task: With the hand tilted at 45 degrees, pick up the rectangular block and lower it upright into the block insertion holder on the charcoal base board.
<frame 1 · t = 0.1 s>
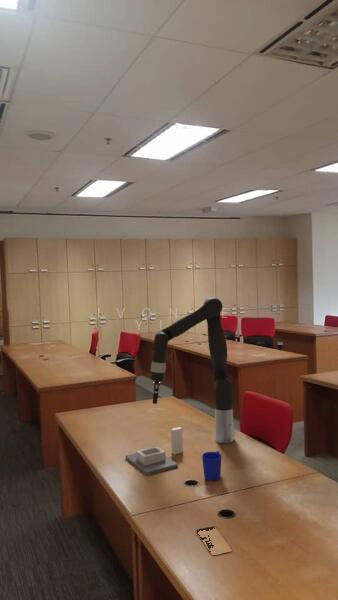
hand: (154, 401, 237), 22 cm above the table, tool pointing down, fingers open, 8 cm apart
rectangular block: (177, 452, 226), on the table
mug: (213, 476, 198), on the table
block insertion holder: (151, 462, 214), on the table
phone: (213, 542, 150), on the table
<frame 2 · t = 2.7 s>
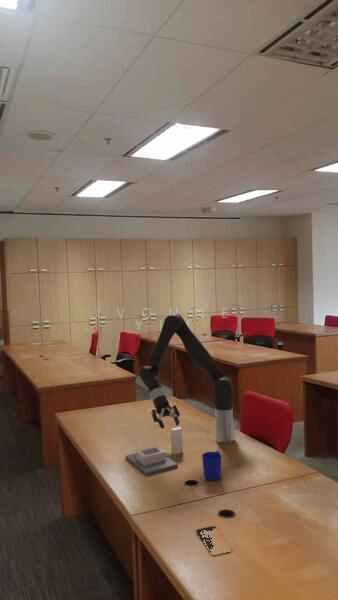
hand: (170, 426, 230), 11 cm above the table, tool tilted 45°, fingers open, 8 cm apart
nothing on the table moved.
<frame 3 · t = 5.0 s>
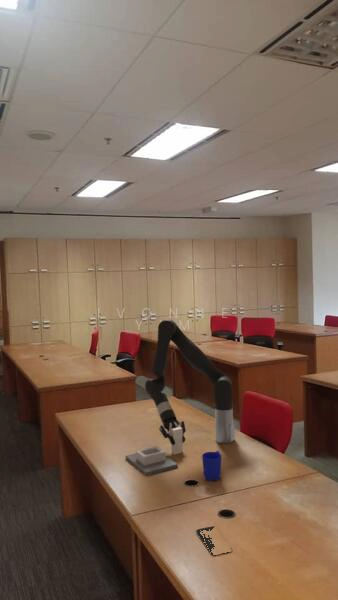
hand: (178, 442, 224), 5 cm above the table, tool tilted 45°, fingers closed on rectangular block, 5 cm apart
rectangular block: (177, 452, 226), on the table, touching gripper
everything else where it was.
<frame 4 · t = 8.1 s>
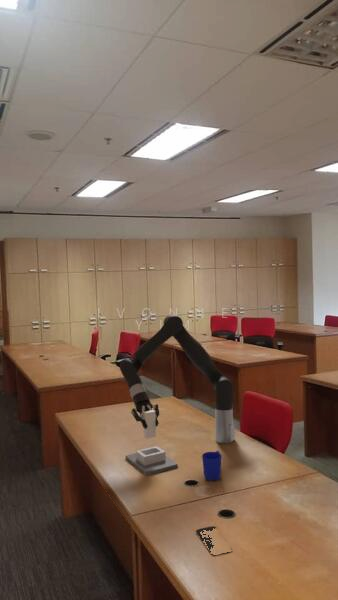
hand: (151, 426, 212), 18 cm above the table, tool tilted 45°, fingers closed on rectangular block, 5 cm apart
rectangular block: (150, 436, 214), point 12 cm above the table, touching gripper
everything else where it was.
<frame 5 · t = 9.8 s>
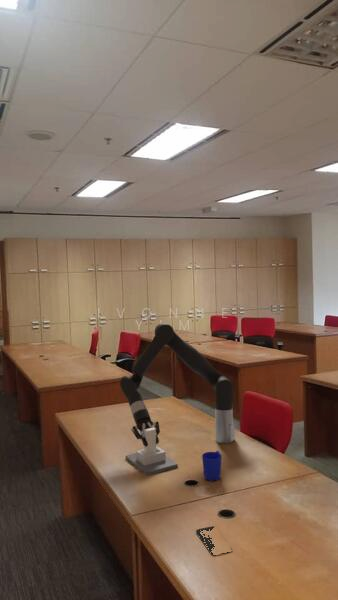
hand: (152, 444, 212), 9 cm above the table, tool tilted 45°, fingers closed on rectangular block, 5 cm apart
rectangular block: (150, 454, 214), point 4 cm above the table, touching gripper
everything else where it was.
when the fingers open (8 cm above the table, at t = 11.0 s): rectangular block drops 1 cm, resting on block insertion holder.
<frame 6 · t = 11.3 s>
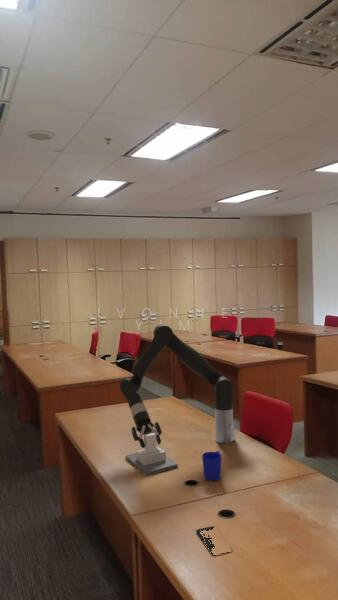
hand: (151, 445, 212), 9 cm above the table, tool tilted 45°, fingers open, 7 cm apart
rectangular block: (150, 459, 214), point 1 cm above the table, touching block insertion holder
everything else where it was.
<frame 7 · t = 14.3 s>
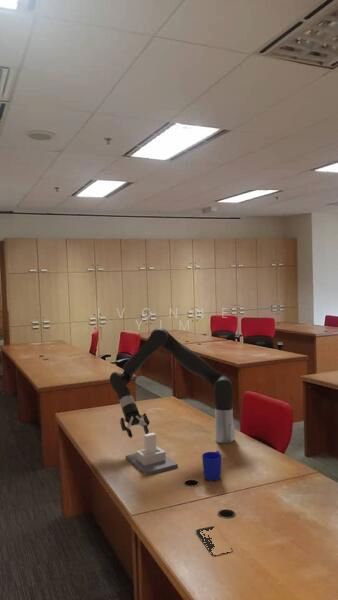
hand: (139, 435, 224), 10 cm above the table, tool tilted 45°, fingers open, 8 cm apart
nothing on the table moved.
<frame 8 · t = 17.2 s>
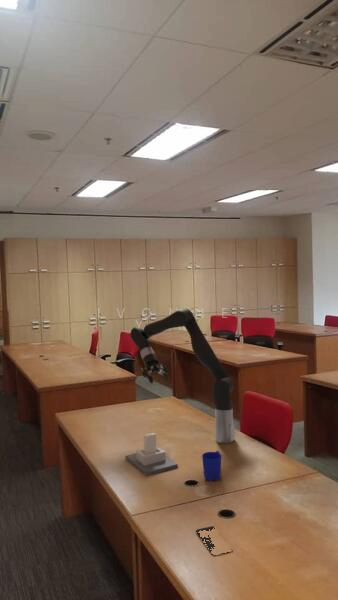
hand: (159, 381, 245), 31 cm above the table, tool tilted 45°, fingers open, 8 cm apart
nothing on the table moved.
at the end: rectangular block 0.1 cm off-centre on the block insertion holder, point 1.5 cm above the block insertion holder's base; rectangular block tilted 0°; the gripper is holding nothing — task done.
